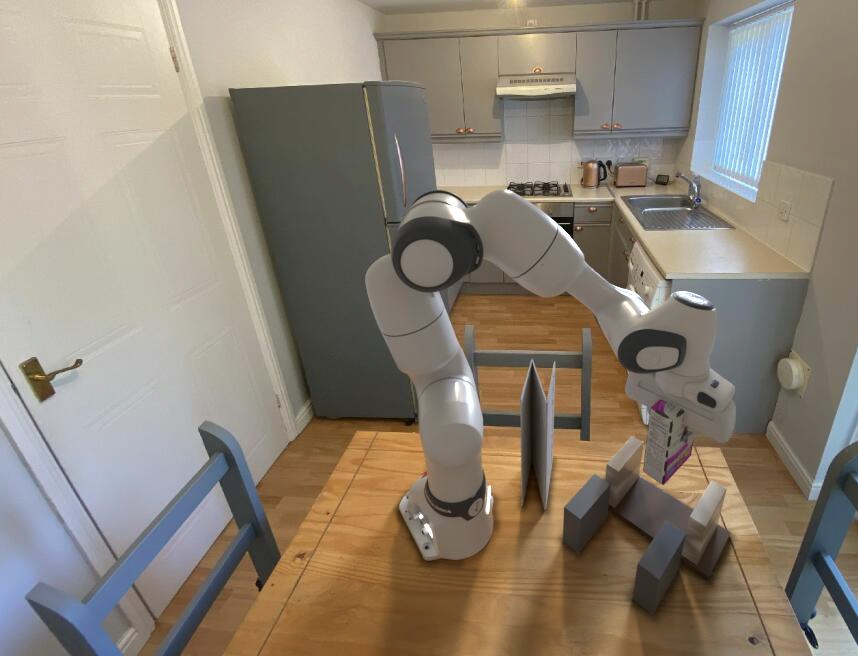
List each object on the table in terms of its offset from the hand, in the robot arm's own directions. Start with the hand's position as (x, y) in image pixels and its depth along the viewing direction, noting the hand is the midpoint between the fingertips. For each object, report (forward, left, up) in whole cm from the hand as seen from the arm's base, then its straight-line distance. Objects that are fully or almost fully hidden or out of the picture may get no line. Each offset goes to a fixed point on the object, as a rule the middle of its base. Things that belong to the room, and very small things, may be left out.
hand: (671, 433), depth 83 cm
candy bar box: (0, 0, -8) cm, 8 cm away
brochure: (-25, -11, -24) cm, 36 cm away
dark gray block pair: (-2, -13, -24) cm, 27 cm away
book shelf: (0, 0, -24) cm, 24 cm away
